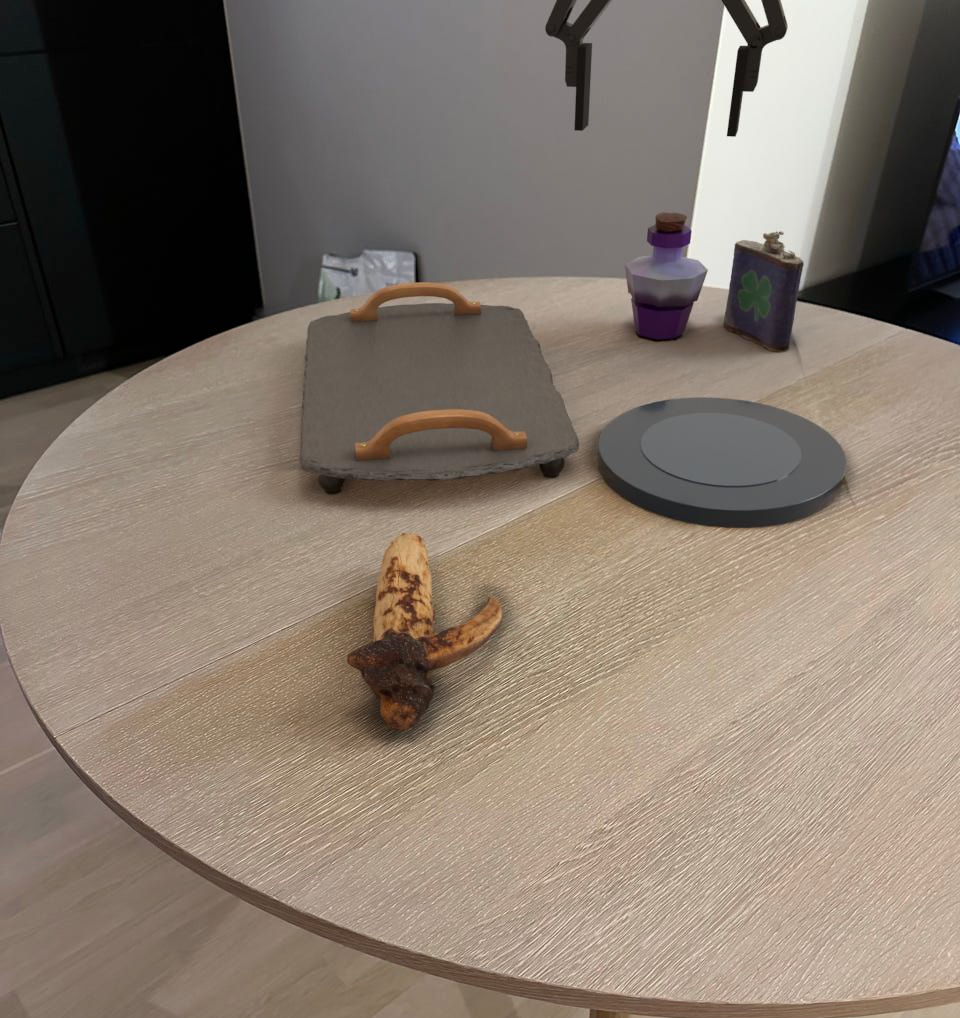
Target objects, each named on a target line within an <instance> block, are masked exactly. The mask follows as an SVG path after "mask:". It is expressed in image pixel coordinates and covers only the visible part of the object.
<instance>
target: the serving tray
mask: <svg viewBox="0 0 960 1018" xmlns="http://www.w3.org/2000/svg"><path fill="white" fill-rule="evenodd" d="M413 297H414V298H415V297H434V298H441V299H446V300H448V301H450V302H452V303H444V302H431V303H430V302H429V303H428V302H427V303H413V304H395V305H387V306H382V305H383V304H384V303H387V302H389V301H393V300H397V299H398V300H399V299H403V298H413ZM349 310H350V311H349V312H345V313H344V312H343V313H339V314H333V315H326V316H322V317H319V318H317V319H313V320H310V322H309V323H308V326H307V333H306V342H305V345H306V350H305V355H304V359H305V366H304V372H303V377H304V381H303V382H304V383H303V385H302V387H303V391H302V404H301V408H302V415H301V431H300V451H299V465H300V467H301V468H300V469H301V470H302V471H303V472H305V473H311V474H315V475H318V476H317V481H318V484H319V485H318V486H319V487H320V488H321V489H322V490H323V491H324V493H325V494H326V495H332V496H333V495H338V494H339V493H341V492H342V488H344V485H345V482H346V479H347V480H348V479H354V480H363V481H377V482H397V481H398V482H399V481H431V482H432V481H433V482H434V481H448V480H460V479H465V478H474V477H480V476H485V475H493V474H499V473H505V472H506V473H507V472H512V471H513V472H514V471H518V470H522V469H523V470H524V469H526V468H531V467H534V466H537V465H538V468H539V471H541V473H542V476H543V477H545V478H546V479H556V478H558V477H559V476H560V474H561V473H562V471H563V470H564V468H565V458H567V457H569V456H570V455H574V454H576V453H577V452H579V450H580V440H579V438H578V437H579V436H578V434H577V432H576V431H575V429H574V426H573V425H572V424H573V423H572V422H573V421H572V420H571V418H570V417H569V414H568V412H567V409H566V405H565V401H564V398H563V397H562V395H561V394H560V392H559V391H558V390H557V388H556V386H555V385H554V379H553V374H552V370H551V369H550V366H549V364H548V362H546V360H545V359H544V355H543V354H542V349H541V344H540V342H539V340H538V339H536V338H535V336H534V334H533V332H532V330H531V328H530V326H529V323H528V320H527V319H526V317H525V314H524V312H523V311H522V309H520V308H518V307H517V308H515V307H511V306H509V305H488V304H481V301H471V300H468V299H467V298H466V297H465V296H464V295H463V294H461V293H460V292H459V291H458V290H457V289H455V288H454V287H453V286H451V285H448V284H445V283H440V282H439V283H438V282H429V281H428V282H427V281H426V282H425V281H424V282H423V281H422V282H421V281H419V282H405V283H397V284H392V285H388V286H385V287H382V288H380V289H378V290H377V291H375V292H374V293H373V294H372V295H371V296H369V298H368V299H367V300H366V301H365V303H364V304H363V305H362V306H361V307H357V308H350V309H349Z"/></svg>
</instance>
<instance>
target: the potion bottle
mask: <svg viewBox="0 0 960 1018" xmlns="http://www.w3.org/2000/svg"><path fill="white" fill-rule="evenodd" d="M687 219H688V216H687V215H685V214H684V213H679V212H664V211H663V212H659V213H657V214H656V215H655V224H654V225H651V226H649V227H648V228H647V233H646V234H647V236H646V242H647V243H648V244H649V245H650V246H652V247H653V249H652V255H641V256H638V257H637V258H634V259H633V260H631V261H629V262H627V263H625V264H624V271H625V279H626V287H627V294H630V295H631V298H630V301H631V309H632V316H633V317H632V318H633V323H634V329H633V332H634V333H635V335H636V336H637V337H638V339H643V340H646V341H647V340H648V341H652V342H655V343H658V342H660V343H661V342H673V341H678V340H679V339H681V338H682V337H684V336H685V335H686V333H685V330H686V328H687V324H688V322H689V319H690V316H691V314H692V310H693V308H694V303H695V302H698V300H699V297H700V295H701V291H702V289H703V285H704V283H705V280H706V277H707V274H708V272H709V269H708V268H707V267H706V266H705V265H704V264H703V263H702V262H701V261H700V260H699V259H694V258H689V257H686V256H682V253H683V248H684V247H686V246H688V245H690V244H691V239H692V229H691V228H690V227H689V226H687V225H685V224H686V221H687Z"/></svg>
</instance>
